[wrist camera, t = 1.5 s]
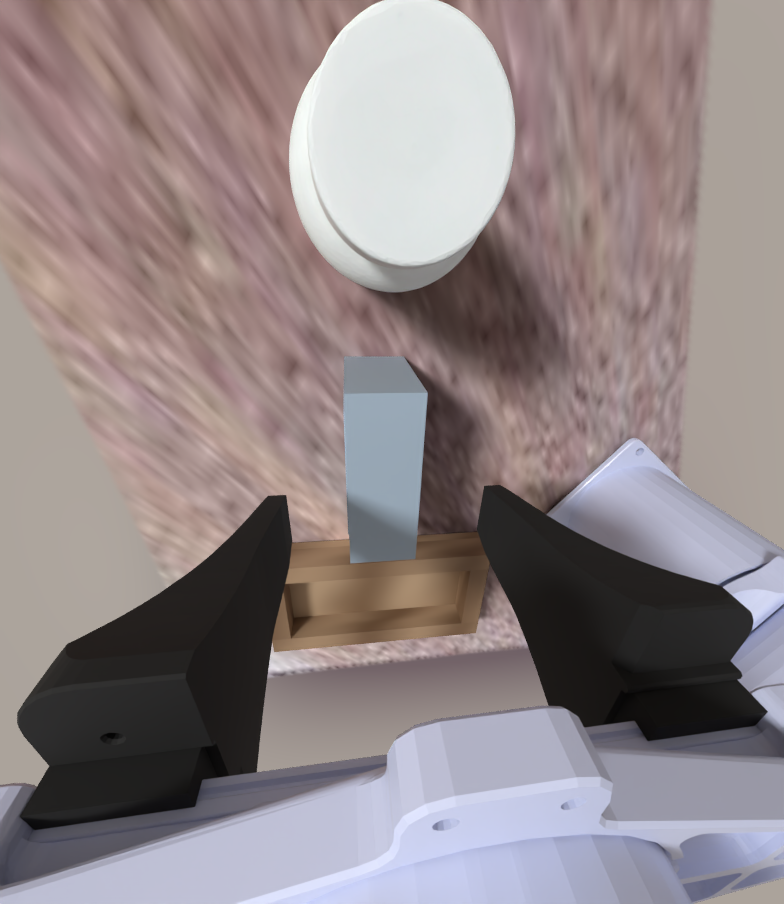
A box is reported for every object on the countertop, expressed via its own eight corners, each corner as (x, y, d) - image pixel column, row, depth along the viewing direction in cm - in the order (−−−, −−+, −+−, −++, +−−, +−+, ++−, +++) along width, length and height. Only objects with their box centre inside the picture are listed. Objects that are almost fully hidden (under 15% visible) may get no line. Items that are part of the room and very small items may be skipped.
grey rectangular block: (343, 356, 18) (342, 393, 12) (404, 356, 18) (429, 392, 13) (348, 490, 21) (349, 563, 16) (399, 488, 22) (416, 559, 16)
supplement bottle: (300, 134, 14) (227, -87, 5) (436, 128, 14) (577, -84, 6) (321, 288, 16) (296, 309, 8) (437, 279, 17) (534, 291, 8)
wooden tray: (479, 531, 24) (491, 554, 22) (466, 607, 27) (475, 632, 25) (265, 544, 22) (258, 570, 20) (279, 623, 26) (274, 651, 24)
